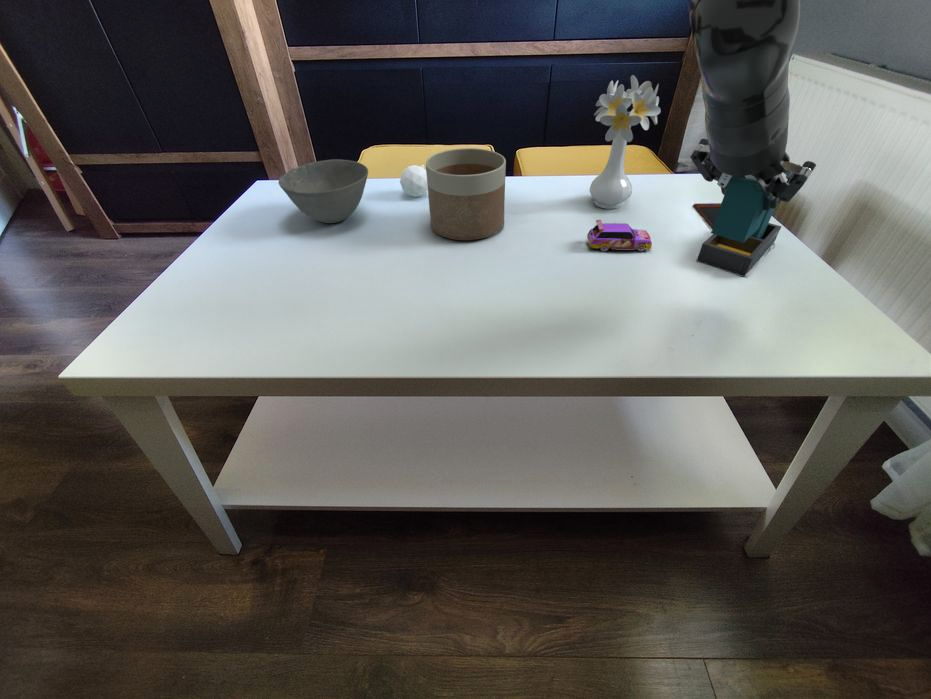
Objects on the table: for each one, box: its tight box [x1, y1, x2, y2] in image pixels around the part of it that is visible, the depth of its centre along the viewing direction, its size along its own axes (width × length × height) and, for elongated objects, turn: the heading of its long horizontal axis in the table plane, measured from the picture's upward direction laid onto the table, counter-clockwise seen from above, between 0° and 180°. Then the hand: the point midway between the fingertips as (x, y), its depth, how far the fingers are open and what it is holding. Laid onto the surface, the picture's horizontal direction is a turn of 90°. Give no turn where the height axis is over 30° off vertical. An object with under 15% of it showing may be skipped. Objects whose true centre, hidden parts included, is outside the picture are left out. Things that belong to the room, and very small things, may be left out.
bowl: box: [278, 158, 369, 224], centre depth 100 cm, size 19×19×10 cm
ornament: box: [399, 164, 428, 198], centre depth 109 cm, size 7×7×8 cm
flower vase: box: [588, 74, 662, 210], centre depth 96 cm, size 13×18×25 cm
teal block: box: [710, 172, 783, 243], centre depth 62 cm, size 4×6×8 cm
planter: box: [425, 147, 507, 241], centre depth 94 cm, size 16×16×14 cm
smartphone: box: [692, 202, 722, 230], centre depth 97 cm, size 7×1×15 cm
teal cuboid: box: [751, 208, 776, 239], centre depth 86 cm, size 4×6×8 cm
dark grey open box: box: [696, 222, 782, 277], centre depth 86 cm, size 9×16×4 cm, turn 137°
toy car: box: [586, 219, 653, 252], centre depth 88 cm, size 6×12×5 cm, turn 86°
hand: (750, 198), depth 63 cm, fingers closed on teal block, 4 cm apart
